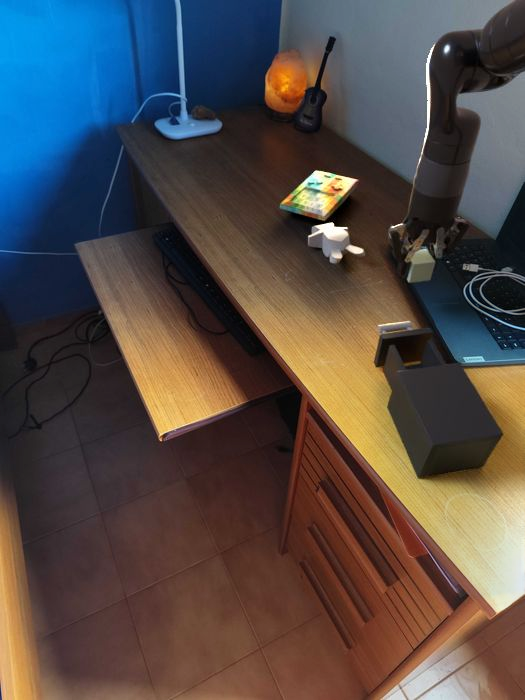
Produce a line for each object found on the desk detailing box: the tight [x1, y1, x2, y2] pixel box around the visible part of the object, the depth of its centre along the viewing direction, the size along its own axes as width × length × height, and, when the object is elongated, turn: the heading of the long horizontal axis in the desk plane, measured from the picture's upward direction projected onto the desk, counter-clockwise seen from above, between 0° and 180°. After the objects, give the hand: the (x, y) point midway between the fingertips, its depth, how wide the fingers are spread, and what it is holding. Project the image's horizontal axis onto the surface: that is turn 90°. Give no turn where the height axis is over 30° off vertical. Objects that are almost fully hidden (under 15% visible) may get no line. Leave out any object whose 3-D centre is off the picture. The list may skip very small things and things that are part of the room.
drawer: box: [373, 320, 447, 391], centre depth 74 cm, size 16×8×7 cm, turn 9°
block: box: [405, 248, 435, 284], centre depth 83 cm, size 4×4×4 cm
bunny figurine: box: [307, 222, 366, 264], centre depth 101 cm, size 10×5×15 cm
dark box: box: [386, 362, 504, 479], centre depth 66 cm, size 13×10×9 cm
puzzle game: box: [279, 170, 360, 222], centre depth 115 cm, size 12×5×20 cm
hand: (415, 273), depth 84 cm, fingers closed on block, 4 cm apart
